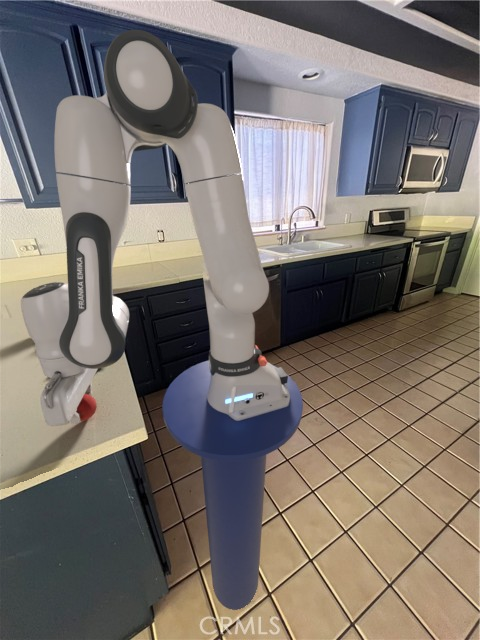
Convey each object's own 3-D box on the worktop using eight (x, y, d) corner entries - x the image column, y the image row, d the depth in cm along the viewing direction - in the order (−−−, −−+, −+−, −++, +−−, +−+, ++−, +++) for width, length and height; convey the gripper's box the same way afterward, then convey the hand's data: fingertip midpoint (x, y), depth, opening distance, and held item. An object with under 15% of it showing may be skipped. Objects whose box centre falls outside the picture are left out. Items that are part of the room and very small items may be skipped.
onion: (69, 431, 60) (58, 404, 56) (76, 413, 65) (67, 387, 61) (97, 426, 61) (88, 399, 58) (101, 408, 66) (94, 382, 63)
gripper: (61, 389, 47) (81, 444, 53) (97, 335, 65) (109, 380, 71) (21, 393, 46) (46, 449, 52) (69, 337, 64) (83, 383, 70)
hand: (82, 409), depth 62 cm, fingers closed on onion, 6 cm apart
